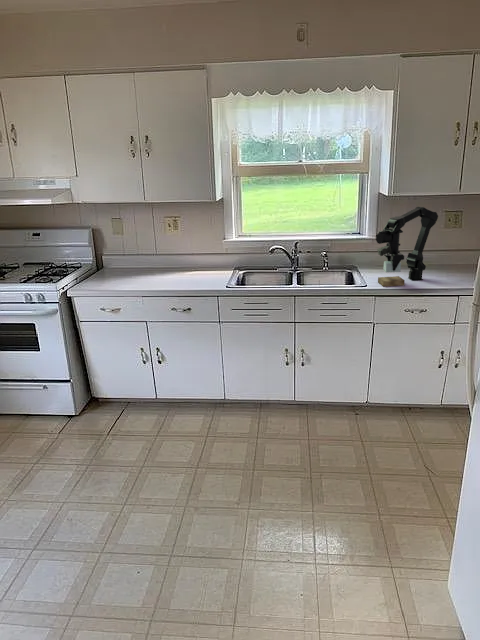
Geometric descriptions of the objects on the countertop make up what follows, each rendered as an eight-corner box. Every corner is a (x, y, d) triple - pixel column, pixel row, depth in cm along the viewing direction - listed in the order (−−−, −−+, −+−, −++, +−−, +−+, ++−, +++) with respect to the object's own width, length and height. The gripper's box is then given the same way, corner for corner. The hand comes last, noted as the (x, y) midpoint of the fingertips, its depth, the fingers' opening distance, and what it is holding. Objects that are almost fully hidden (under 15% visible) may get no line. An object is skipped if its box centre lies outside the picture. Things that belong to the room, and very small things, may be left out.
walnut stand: (398, 281, 274) (398, 276, 273) (404, 285, 266) (404, 280, 265) (377, 282, 274) (378, 277, 273) (383, 286, 265) (383, 281, 264)
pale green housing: (383, 270, 270) (383, 260, 268) (397, 269, 270) (398, 259, 268) (385, 272, 265) (386, 262, 263) (400, 271, 265) (401, 262, 263)
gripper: (373, 239, 270) (372, 266, 276) (384, 245, 253) (383, 274, 258) (393, 238, 271) (391, 264, 276) (405, 244, 253) (403, 273, 258)
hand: (392, 269), depth 267 cm, fingers closed on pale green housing, 6 cm apart
